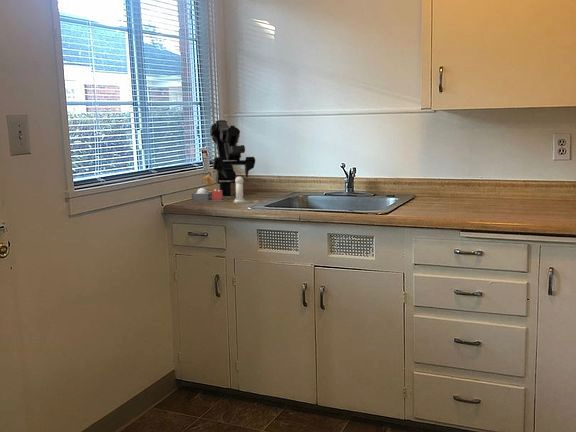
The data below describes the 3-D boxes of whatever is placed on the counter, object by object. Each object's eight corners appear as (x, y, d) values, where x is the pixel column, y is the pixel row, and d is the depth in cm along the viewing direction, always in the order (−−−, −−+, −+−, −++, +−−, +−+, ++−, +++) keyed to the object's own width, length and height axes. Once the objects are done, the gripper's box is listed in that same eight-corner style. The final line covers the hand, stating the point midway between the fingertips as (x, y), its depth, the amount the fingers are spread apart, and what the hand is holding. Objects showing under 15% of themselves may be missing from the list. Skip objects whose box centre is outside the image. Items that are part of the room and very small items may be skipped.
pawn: (235, 201, 284) (234, 175, 282) (245, 201, 284) (245, 175, 282) (233, 202, 280) (233, 176, 278) (244, 202, 279) (243, 177, 278)
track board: (235, 206, 278) (235, 203, 278) (230, 204, 284) (230, 201, 283) (270, 204, 285) (270, 201, 285) (264, 202, 291) (264, 199, 290)
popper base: (195, 200, 294) (195, 188, 293) (227, 201, 293) (227, 188, 292) (191, 203, 286) (190, 190, 285) (224, 204, 284) (224, 191, 284)
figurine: (221, 199, 301) (220, 173, 299) (214, 200, 296) (213, 174, 294) (206, 197, 305) (206, 172, 303) (199, 199, 300) (198, 173, 298)
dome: (197, 197, 293) (196, 187, 292) (209, 197, 292) (209, 187, 291) (194, 199, 287) (193, 188, 286) (207, 199, 286) (207, 188, 285)
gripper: (213, 139, 285) (218, 166, 276) (254, 138, 290) (260, 165, 281) (210, 155, 293) (215, 182, 285) (250, 155, 299) (256, 181, 290)
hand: (237, 177), depth 285 cm, fingers open, 9 cm apart
